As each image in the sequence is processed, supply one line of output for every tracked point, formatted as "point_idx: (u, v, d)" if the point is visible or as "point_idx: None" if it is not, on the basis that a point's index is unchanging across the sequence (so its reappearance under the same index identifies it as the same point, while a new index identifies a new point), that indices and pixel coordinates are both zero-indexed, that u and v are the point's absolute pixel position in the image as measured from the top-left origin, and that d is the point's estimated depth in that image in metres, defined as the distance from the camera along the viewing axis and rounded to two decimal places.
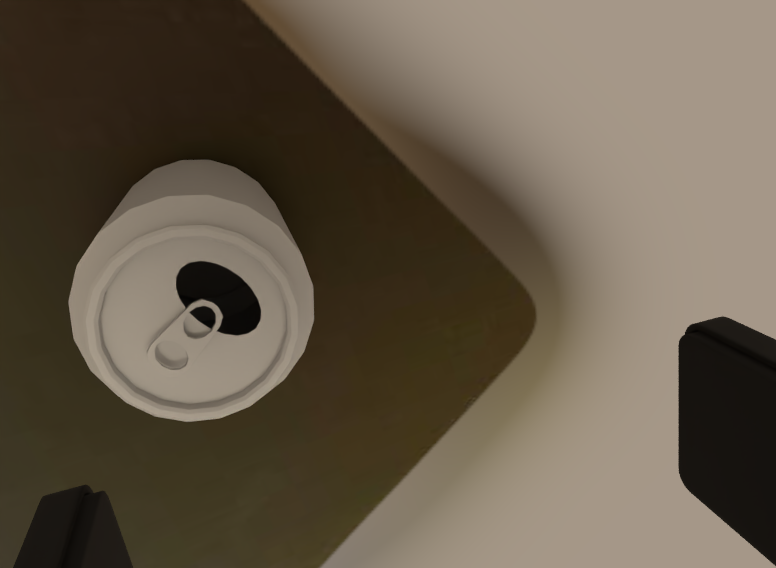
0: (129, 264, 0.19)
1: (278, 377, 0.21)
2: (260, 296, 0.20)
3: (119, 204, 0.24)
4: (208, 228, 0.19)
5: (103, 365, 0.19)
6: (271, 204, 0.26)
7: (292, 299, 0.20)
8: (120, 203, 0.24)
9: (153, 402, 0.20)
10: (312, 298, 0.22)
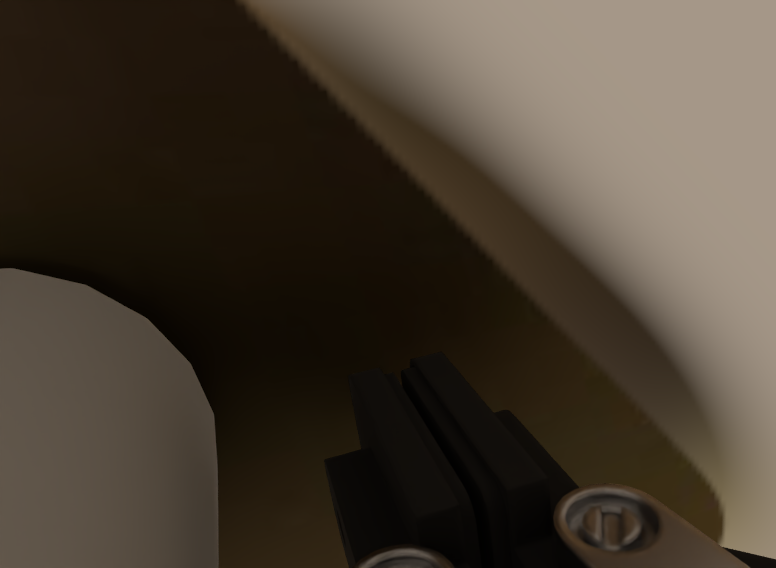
0: None
1: None
2: None
3: None
4: None
5: None
6: (142, 436, 0.09)
7: None
8: None
9: None
10: None
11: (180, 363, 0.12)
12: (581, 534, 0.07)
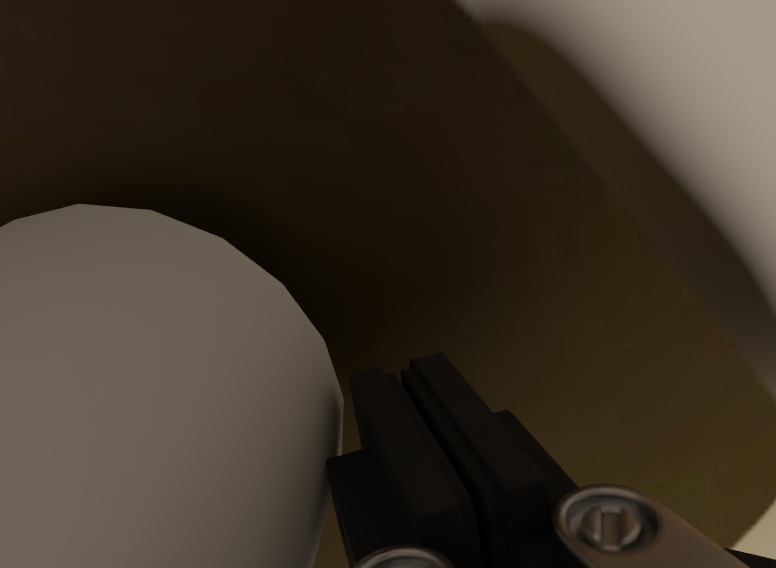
0: None
1: None
2: None
3: None
4: None
5: None
6: (223, 448, 0.07)
7: None
8: None
9: None
10: None
11: (309, 341, 0.10)
12: (581, 534, 0.07)
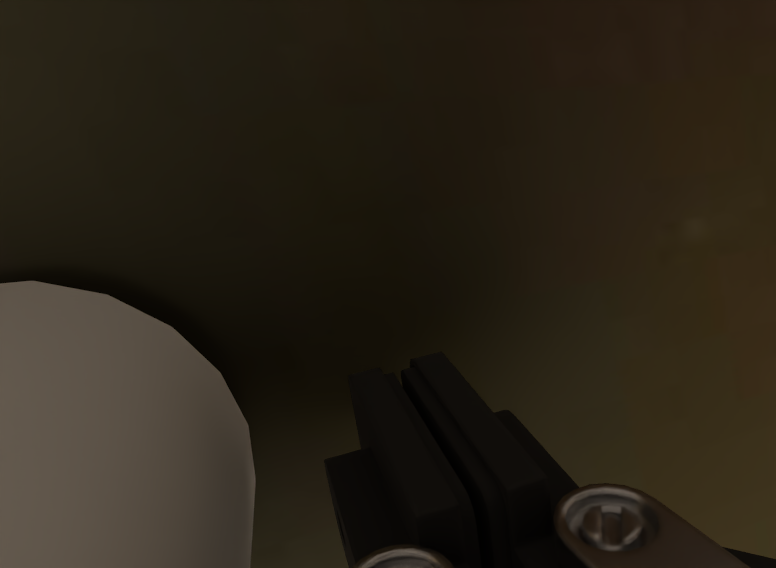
0: None
1: None
2: None
3: None
4: None
5: None
6: (150, 458, 0.08)
7: None
8: None
9: None
10: None
11: (207, 373, 0.11)
12: (581, 534, 0.07)
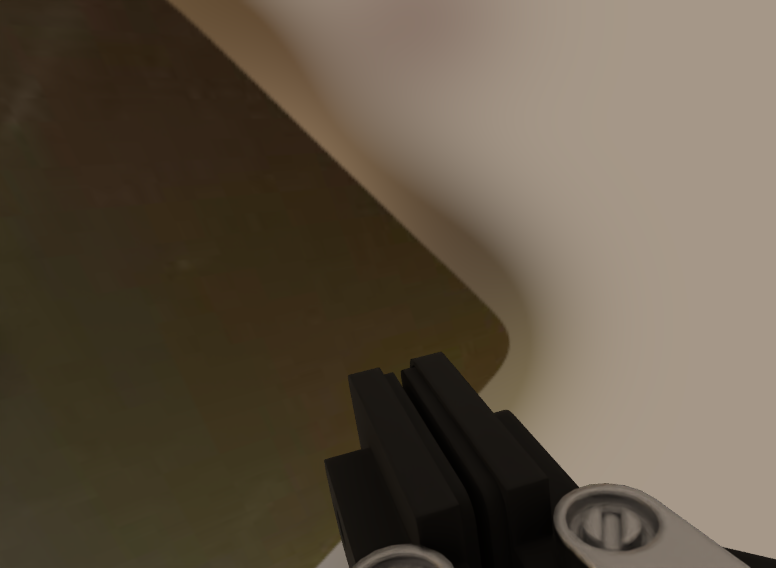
0: None
1: None
2: None
3: None
4: None
5: None
6: None
7: None
8: None
9: None
10: None
11: None
12: (581, 534, 0.07)
